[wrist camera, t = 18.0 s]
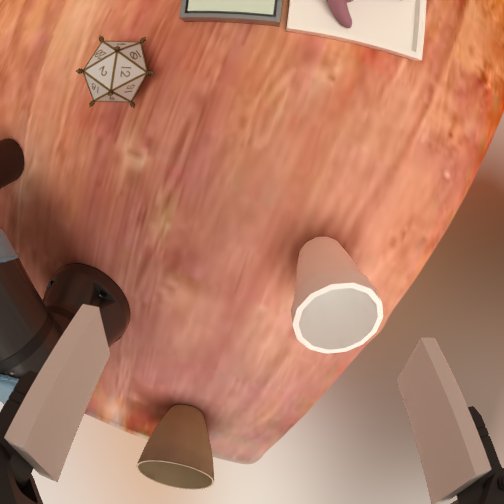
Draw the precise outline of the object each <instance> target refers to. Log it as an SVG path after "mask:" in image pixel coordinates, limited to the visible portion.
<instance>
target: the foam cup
mask: <svg viewBox="0 0 504 504" xmlns="http://www.w3.org/2000/svg"><path fill="white" fill-rule="evenodd" d="M291 314H292V325H293V328H294V331H295V334H296V337H297V339H298V340H299V341H300V342H301V343H303V344H304V345H305V346H306V347H307V348H309V349H311V350H314V351H318V352H322V353H326V354H327V353H338V352H346V351H348V350H351V349H353V348H355V347H357V346H360V345H362V344H363V343H365V342H366V341H367V340H368V339H369V338H370V337H371V336H372V335H373V334H375V333H376V331H377V329H378V327H379V325H380V323H381V321H382V318H383V309H382V301H381V299H380V296H379V294H378V292H377V290H376V288H375V287H374V286H373V284H372V283H371V282H370V281H369V280H368V278H367V277H366V276H365V275H363V273H362V272H361V271H360V269H359V268H358V267H357V265H356V264H355V263H354V261H353V260H352V259H351V257H350V256H349V255H348V253H347V252H346V251H345V249H344V248H343V247H342V246H341V245H340V244H339V243H338V241H337V240H335V239H332V238H330V237H327V236H326V237H315V238H313V239H311V240H309V241H307V242H306V243H305V244H304V246H303V247H302V248H301V249H300V252H299V257H298V262H297V274H296V285H295V295H294V301H293V305H292V309H291Z"/></svg>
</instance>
